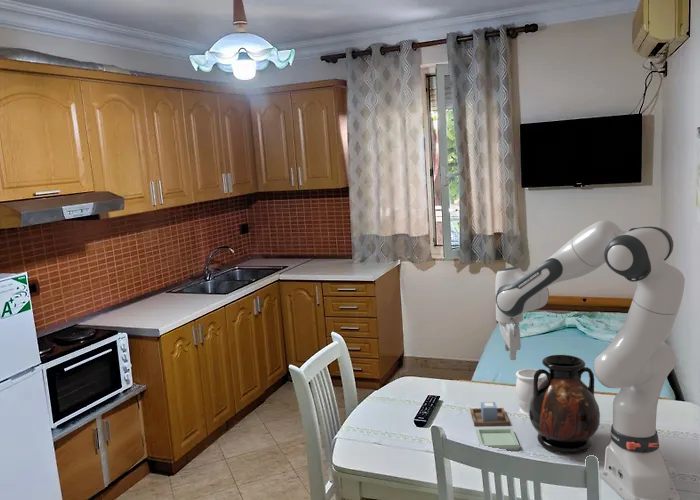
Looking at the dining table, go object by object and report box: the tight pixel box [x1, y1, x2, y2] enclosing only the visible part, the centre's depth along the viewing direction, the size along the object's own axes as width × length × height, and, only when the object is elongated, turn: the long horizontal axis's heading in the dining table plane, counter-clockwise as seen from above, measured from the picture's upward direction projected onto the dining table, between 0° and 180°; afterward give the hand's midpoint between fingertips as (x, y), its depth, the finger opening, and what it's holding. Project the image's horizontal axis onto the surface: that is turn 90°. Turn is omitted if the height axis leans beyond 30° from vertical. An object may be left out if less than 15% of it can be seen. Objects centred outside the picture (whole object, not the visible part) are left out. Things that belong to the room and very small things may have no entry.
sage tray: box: [475, 427, 520, 451], centre depth 192 cm, size 12×12×2 cm
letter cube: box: [480, 401, 498, 422], centre depth 208 cm, size 5×5×5 cm
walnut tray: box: [469, 407, 510, 427], centre depth 208 cm, size 12×12×2 cm
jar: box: [515, 368, 546, 416], centre depth 211 cm, size 11×10×15 cm
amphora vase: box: [528, 354, 601, 455], centre depth 186 cm, size 22×22×28 cm
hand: (510, 354), depth 196 cm, fingers open, 8 cm apart
